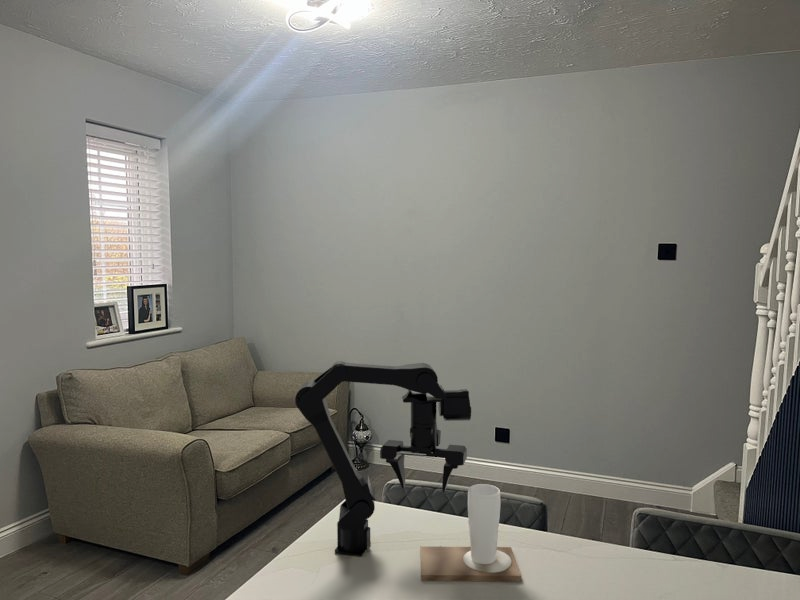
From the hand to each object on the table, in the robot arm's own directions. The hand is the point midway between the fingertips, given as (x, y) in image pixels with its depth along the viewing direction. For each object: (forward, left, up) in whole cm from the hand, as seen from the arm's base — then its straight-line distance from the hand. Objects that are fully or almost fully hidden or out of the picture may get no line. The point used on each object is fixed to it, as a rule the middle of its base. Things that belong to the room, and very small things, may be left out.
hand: (423, 489), depth 133 cm
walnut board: (+11, -6, -13) cm, 18 cm away
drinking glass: (+14, -5, -12) cm, 19 cm away
